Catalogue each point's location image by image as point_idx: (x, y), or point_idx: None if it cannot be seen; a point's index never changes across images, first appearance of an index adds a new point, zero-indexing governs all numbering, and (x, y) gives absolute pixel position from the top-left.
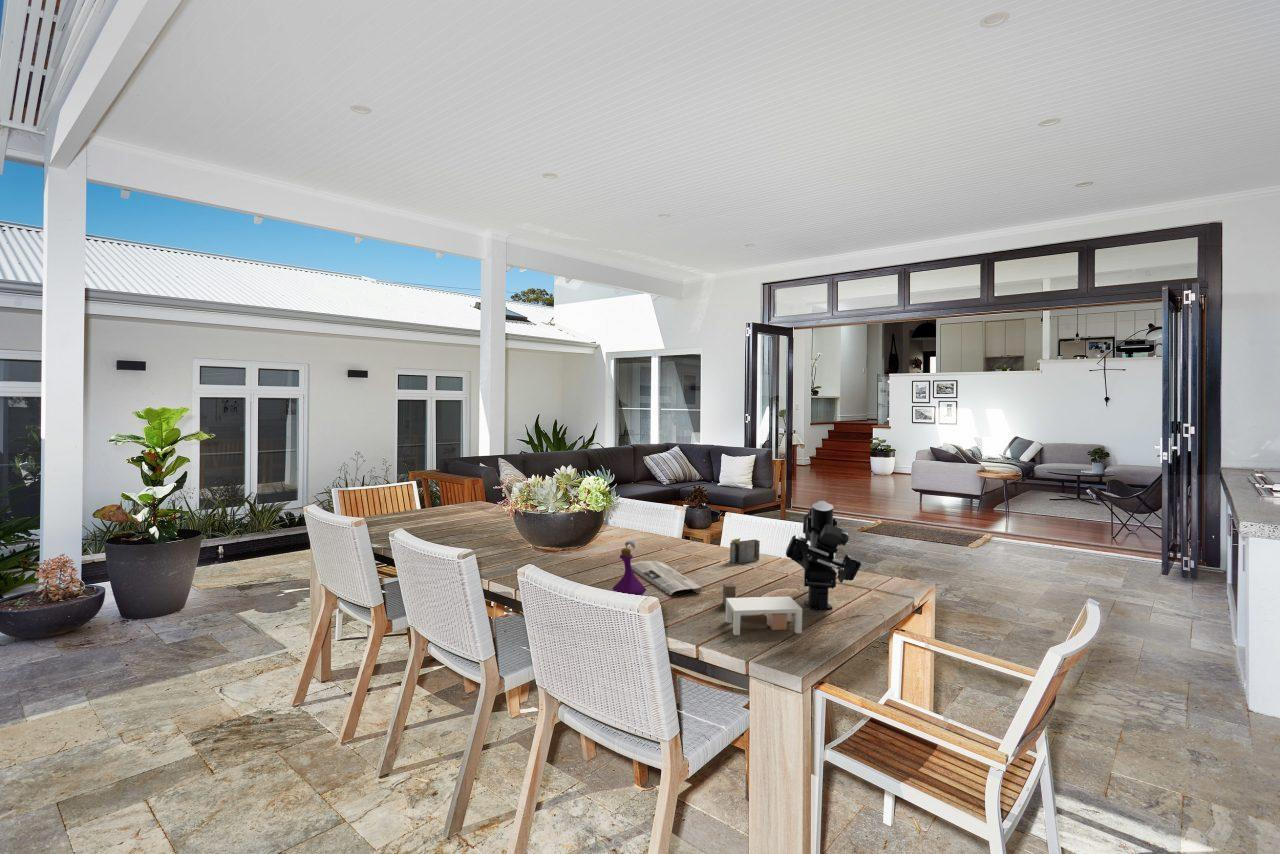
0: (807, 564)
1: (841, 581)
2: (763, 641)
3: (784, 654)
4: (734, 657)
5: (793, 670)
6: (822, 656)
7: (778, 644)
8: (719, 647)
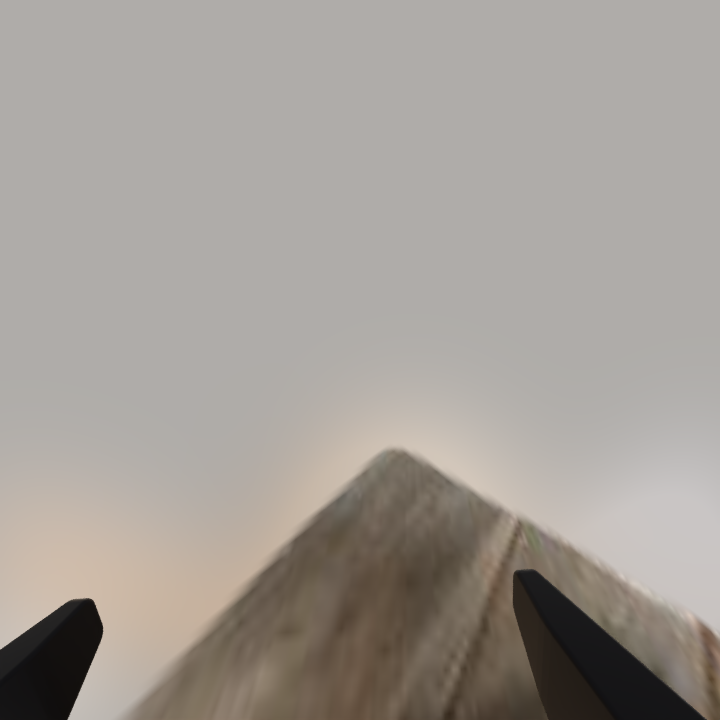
0: (546, 590)
1: (97, 611)
2: (525, 699)
3: (429, 563)
4: (562, 539)
5: (401, 464)
6: (303, 549)
7: (460, 665)
8: (638, 616)
